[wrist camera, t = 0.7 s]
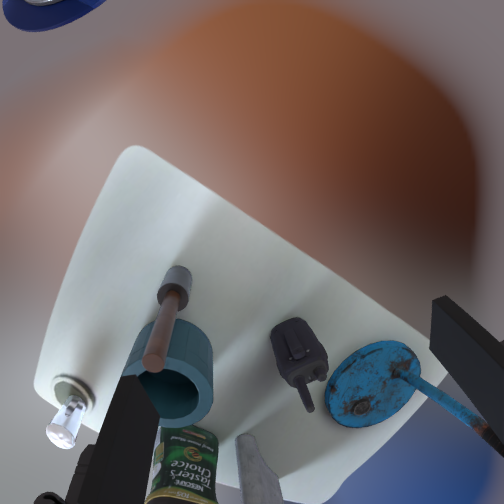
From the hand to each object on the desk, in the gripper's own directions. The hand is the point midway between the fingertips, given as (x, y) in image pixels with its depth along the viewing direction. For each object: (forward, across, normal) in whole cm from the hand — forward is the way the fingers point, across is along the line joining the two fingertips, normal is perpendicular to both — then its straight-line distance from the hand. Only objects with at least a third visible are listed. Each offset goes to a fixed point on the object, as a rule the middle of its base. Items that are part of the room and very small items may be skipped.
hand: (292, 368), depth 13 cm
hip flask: (+22, -9, -39) cm, 46 cm away
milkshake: (+22, -32, -19) cm, 44 cm away
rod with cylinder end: (+25, -10, -4) cm, 27 cm away
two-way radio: (+25, +1, -14) cm, 29 cm away
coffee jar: (+23, -18, -30) cm, 41 cm away
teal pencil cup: (+24, -14, -14) cm, 31 cm away
